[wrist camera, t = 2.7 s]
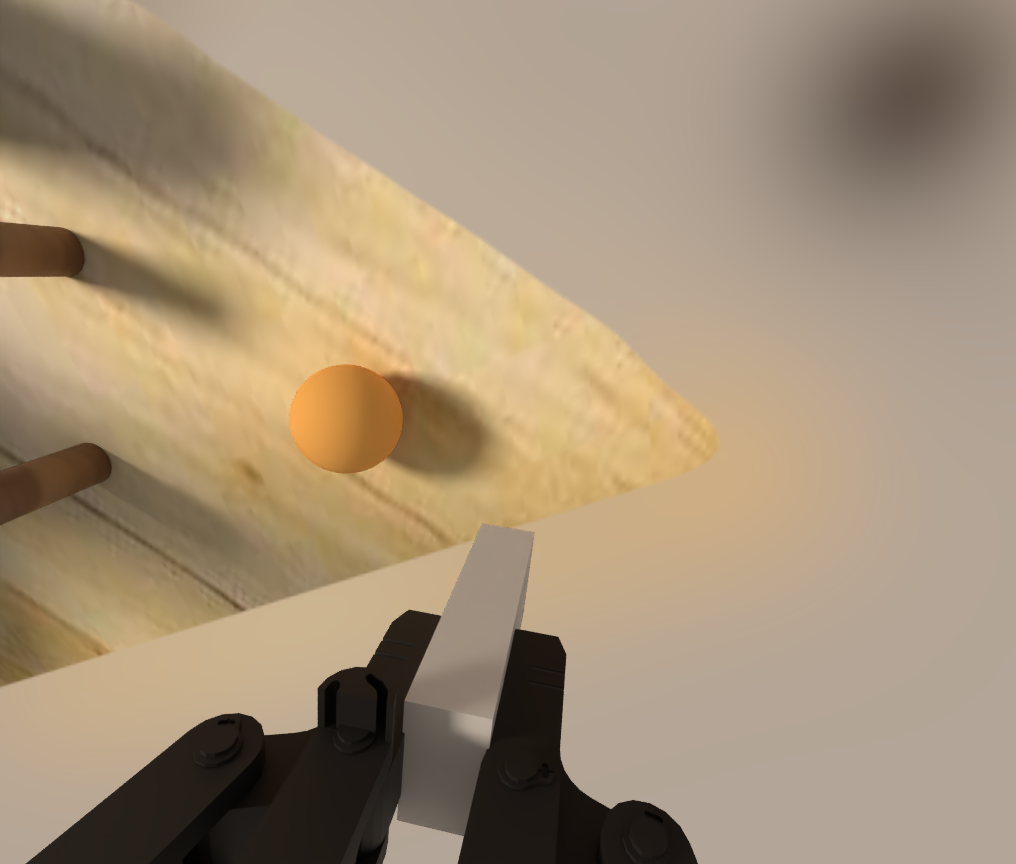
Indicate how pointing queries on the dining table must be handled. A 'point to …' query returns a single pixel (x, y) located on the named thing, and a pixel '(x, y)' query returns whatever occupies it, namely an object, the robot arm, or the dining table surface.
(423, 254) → the dining table surface
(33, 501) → the post
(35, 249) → the post
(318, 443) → the ball
